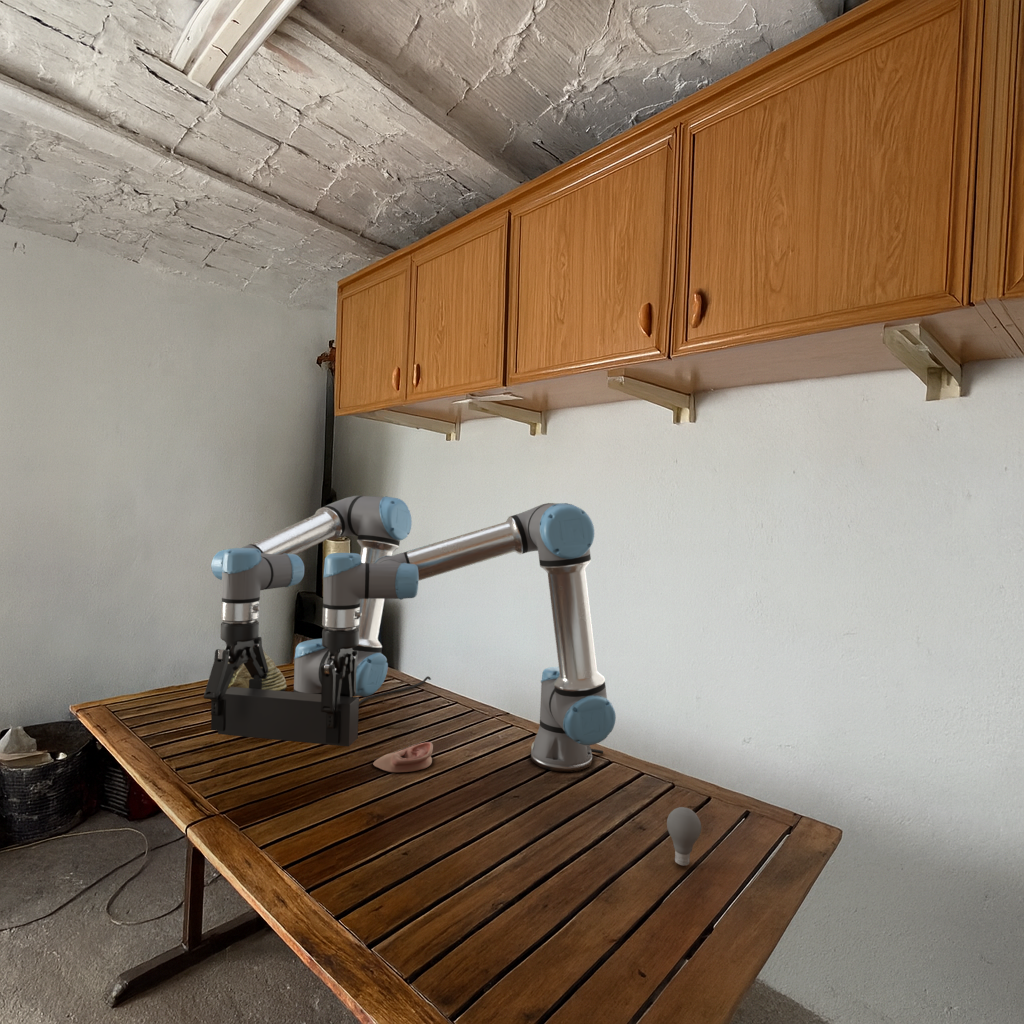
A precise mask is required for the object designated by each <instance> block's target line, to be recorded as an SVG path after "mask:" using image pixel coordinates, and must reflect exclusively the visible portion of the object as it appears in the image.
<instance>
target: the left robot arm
mask: <svg viewBox="0 0 1024 1024" xmlns="http://www.w3.org/2000/svg"><path fill="white" fill-rule="evenodd" d="M412 522H413V521H412V514H411V510H410V509H409V507H408V505H407V503H406V502H405V501H404V500H402V499H400V498H398V497H392V496H387V495H385V496H375V495H373V496H371V495H352V496H347V497H344V498H342V499H339V500H335V501H334V502H331V503H328V504H327V505H324V506H322V507H320V508H318V509H317V510H316V511H315V513H314V514H313V515H311V516H309V517H307V518H304V519H302V520H300V521H298V522H296V523H294V524H291V525H289V526H287V527H284V528H282V529H280V530H278V531H276V532H273V533H271V534H268V535H267V536H265V537H262V538H260V539H258V540H256V541H253V542H251V543H249V544H247V545H244V546H242V547H233V548H232V547H231V548H228V549H223V550H219V551H217V552H216V554H215V555H214V556H213V558H212V560H211V565H210V566H211V571H212V574H213V576H214V577H215V578H216V579H218V580H220V581H221V601H220V603H221V604H220V606H221V607H220V620H222V622H221V623H220V640H222V641H224V643H225V646H224V649H219V648H217V649H215V651H214V658H213V659H214V660H213V664H212V667H211V671H210V674H209V677H208V681H207V683H206V687H205V690H204V694H203V699H204V700H210V702H211V703H210V705H211V706H210V708H211V709H210V714H211V715H210V718H211V719H210V730H211V731H217V732H218V731H225V727H226V698H224V695H225V693H226V691H227V688H228V686H229V684H230V681H231V679H232V677H233V674H234V672H235V670H237V669H238V668H239V666H240V665H242V664H243V663H244V665H245V667H246V668H247V670H248V672H249V673H250V675H251V677H252V678H253V679H250V680H249V688H251V689H262V679H266V678H267V673H268V666H267V663H266V659H265V655H264V652H265V651H264V652H263V650H264V648H263V641H262V640H263V639H262V638H263V637H261V636H259V635H260V631H259V629H260V622H259V620H258V619H259V618H260V610H261V607H260V599H261V591H264V590H273V589H280V588H289V587H292V586H295V585H299V584H300V583H301V581H302V580H303V578H304V576H305V564H304V562H303V560H302V558H301V557H300V556H299V554H300V553H302V552H305V551H307V550H309V549H311V548H313V547H315V546H316V545H319V544H321V543H323V542H324V541H327V540H328V541H335V540H337V539H338V538H342V537H357V539H356V542H357V543H358V545H359V546H360V555H361V560H362V563H365V565H366V563H375V562H376V561H377V560H378V559H379V558H381V557H384V556H393V553H394V552H395V551H396V550H398V549H399V548H400V543H401V541H403V540H405V539H406V538H408V536H409V535H410V533H411V531H412V525H413V523H412ZM384 605H385V599H360V612H361V614H362V615H361V617H360V619H359V625H358V626H357V627H358V628H359V644H358V646H356V647H354V648H352V650H357V651H358V657H357V672H356V695H355V696H354V697H364V698H362V699H360V700H359V705H361V704H362V703H363V702H366V701H368V700H370V699H371V700H372V699H374V698H378V697H382V696H387V695H390V694H394V693H399V692H403V691H408V690H410V689H413V688H416V687H418V686H420V685H423V684H424V683H426V681H427V680H429V681H431V680H432V678H431V677H430V676H425V678H424V679H423V680H422V681H420V682H417V683H414V684H413V685H409V686H406V687H402V688H399V689H397V688H396V689H394V690H389V691H385V692H379V693H377V694H375V693H376V692H377V691H378V690H379V689H380V688H381V687H382V686H383V684H384V682H385V680H386V679H387V678H386V677H387V674H388V669H389V663H388V659H387V657H386V656H385V655H384V654H383V653H382V650H383V645H382V643H381V642H380V641H379V635H380V628H381V623H382V617H383V610H384ZM294 653H295V654H294V657H293V659H294V660H293V662H294V663H293V665H294V666H293V692H300V693H312V694H321V688H322V674H321V665H322V664H327V660H328V654H329V649H328V648H325V647H323V645H322V638H313V639H308V640H304V641H302V642H299V643H298V644H297V645H296V647H295V652H294ZM228 662H229V663H228ZM260 667H262V668H260ZM336 674H337V673H336ZM219 693H220V694H219Z"/></svg>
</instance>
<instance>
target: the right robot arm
mask: <svg viewBox="0 0 1024 1024" xmlns="http://www.w3.org/2000/svg"><path fill="white" fill-rule="evenodd" d="M594 540H595V526H594V523H593V521H592V518H591V516H590V515H589V514H588V513H587V512H586V511H585V510H584V509H582V508H581V507H578V506H576V505H574V504H572V503H568V502H561V503H555V502H548V503H547V502H546V503H542V504H540V505H537V506H534V507H532V508H530V509H528V510H525V511H522V512H520V513H516V514H513V515H510V516H507V519H506V520H505V522H501V523H498V524H494V525H492V526H491V525H490V526H488V527H484V528H481V529H478V530H474V531H470V532H468V533H464V534H461V535H460V534H459V535H458V536H454V537H449V538H447V539H444V540H440V541H437V542H433V543H431V544H430V543H429V544H427V545H423V546H420V547H416V548H413V549H410V550H407V551H404V552H401V553H397V554H392V556H384V557H381V558H379V559H378V560H377V561H376V562H375V563H366V565H365V563H362V560H361V555H360V554H359V553H355V552H332V553H329V554H327V556H325V558H324V565H323V577H322V578H323V581H322V582H323V583H322V585H323V587H322V588H323V590H322V619H321V620H322V621H321V622H322V623H321V626H323V627H324V628H322V632H321V636H322V637H321V639H322V645H323V647H325V648H328V649H329V654H328V660H327V664H322V665H321V674H322V688H321V712H326V743H334V744H339V743H340V711H338V709H339V700H340V696H348V697H356V696H355V695H356V672H357V657H358V651H357V650H352V648H354V647H356V646H358V644H359V628H358V627H357V626H358V625H359V619H360V617H361V615H362V614H361V612H360V599H384V600H388V599H389V600H400V601H401V600H404V599H414V598H416V597H417V596H418V593H419V582H420V581H423V580H427V579H430V578H433V577H436V576H439V575H443V574H446V573H449V572H453V571H457V570H459V569H463V568H466V567H470V566H473V565H476V564H479V563H483V562H486V561H489V560H492V559H496V558H499V557H503V556H506V555H509V554H513V553H515V554H518V555H523V554H526V553H530V552H537V554H538V560H539V567H540V568H541V569H543V570H544V571H545V572H546V574H547V580H548V589H549V597H550V598H549V599H550V606H551V613H552V622H553V631H554V640H555V646H556V654H557V665H558V666H551V667H546V668H544V669H543V671H542V673H541V680H540V683H541V685H540V704H539V705H540V707H539V708H540V711H539V727H538V730H537V733H536V735H535V738H534V741H532V744H531V746H530V748H531V750H530V760H531V761H532V763H534V764H535V765H536V766H538V767H540V768H542V769H545V770H550V771H555V772H562V773H571V772H572V773H573V772H579V771H582V770H585V769H588V768H589V767H591V765H592V764H593V753H595V754H599V755H603V754H604V750H600V749H596V748H591V746H593V745H597V744H600V743H602V742H603V741H604V740H606V739H607V738H608V736H609V735H610V733H612V731H613V730H614V727H615V725H616V718H617V716H616V711H615V708H614V706H613V703H612V702H611V701H610V700H609V699H608V695H607V686H606V678H605V676H604V675H603V674H602V673H600V672H599V671H598V668H597V667H598V666H597V657H596V650H595V649H596V648H595V641H594V634H593V632H594V631H593V625H592V623H593V622H592V615H591V607H590V598H589V589H588V580H587V573H586V568H587V567H588V565H589V564H590V563H591V561H592V558H591V557H592V556H591V547H592V545H593V543H594ZM336 673H337V674H336Z"/></svg>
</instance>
